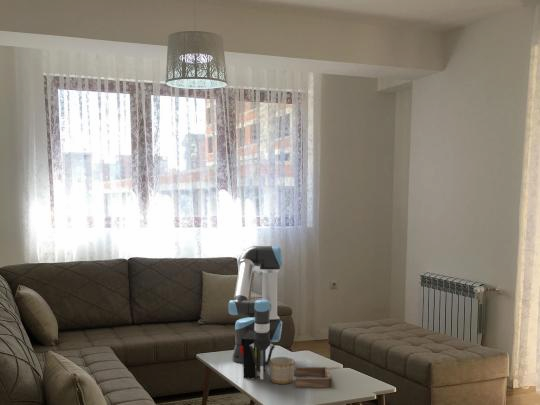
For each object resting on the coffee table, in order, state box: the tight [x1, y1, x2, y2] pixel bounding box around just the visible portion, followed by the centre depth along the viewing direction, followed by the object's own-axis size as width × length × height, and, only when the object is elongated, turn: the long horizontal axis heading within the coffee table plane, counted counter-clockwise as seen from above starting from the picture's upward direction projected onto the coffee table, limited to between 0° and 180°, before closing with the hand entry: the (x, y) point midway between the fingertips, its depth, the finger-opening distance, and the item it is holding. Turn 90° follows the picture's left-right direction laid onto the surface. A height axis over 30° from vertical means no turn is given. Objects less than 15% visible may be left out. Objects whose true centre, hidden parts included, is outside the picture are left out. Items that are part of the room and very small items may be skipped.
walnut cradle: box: [293, 366, 332, 388], centre depth 273 cm, size 18×17×4 cm
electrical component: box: [240, 331, 263, 379], centre depth 286 cm, size 18×10×20 cm, turn 168°
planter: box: [269, 356, 296, 385], centre depth 273 cm, size 13×13×10 cm
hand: (261, 378), depth 272 cm, fingers closed
